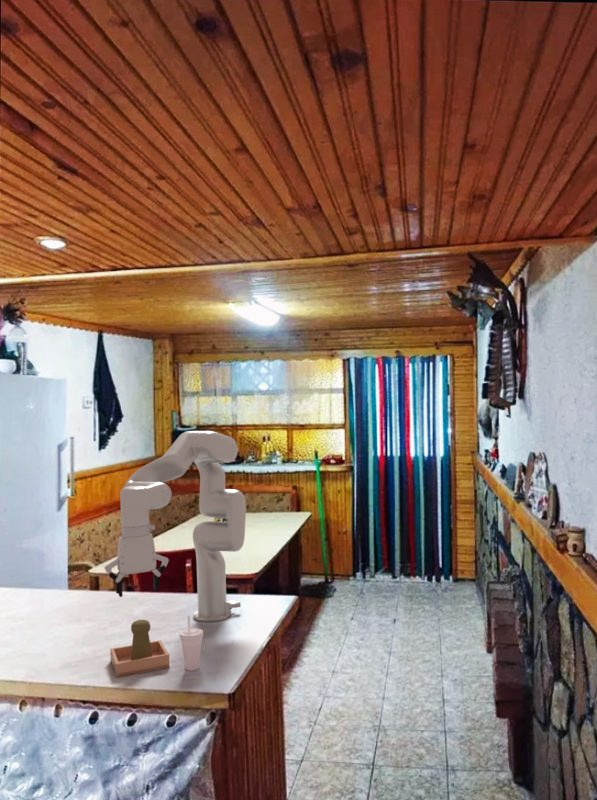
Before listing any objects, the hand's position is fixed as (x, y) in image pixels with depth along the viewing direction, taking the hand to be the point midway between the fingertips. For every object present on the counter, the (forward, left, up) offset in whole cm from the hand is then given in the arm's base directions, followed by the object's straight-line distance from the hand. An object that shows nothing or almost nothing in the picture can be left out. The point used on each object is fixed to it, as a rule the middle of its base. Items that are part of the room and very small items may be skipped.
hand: (138, 592), depth 180 cm
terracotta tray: (0, 0, -20) cm, 20 cm away
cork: (0, 0, -19) cm, 19 cm away
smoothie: (-12, +9, -20) cm, 25 cm away
